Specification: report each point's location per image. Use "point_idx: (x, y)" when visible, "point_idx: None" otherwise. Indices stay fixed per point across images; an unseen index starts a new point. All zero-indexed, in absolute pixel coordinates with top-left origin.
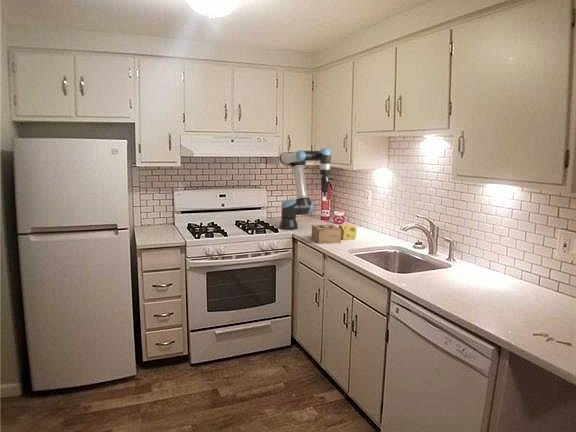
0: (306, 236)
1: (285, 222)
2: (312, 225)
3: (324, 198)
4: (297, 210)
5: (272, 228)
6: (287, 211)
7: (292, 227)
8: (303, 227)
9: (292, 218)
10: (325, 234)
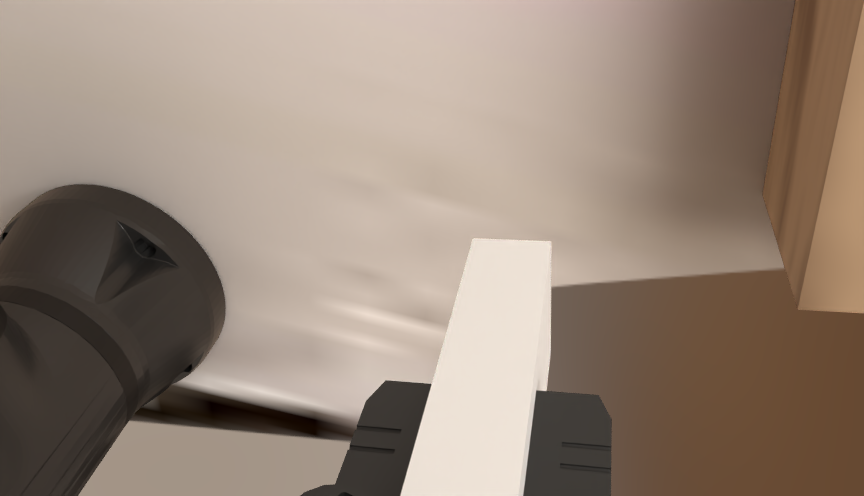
0: (630, 221)
1: (164, 386)
2: (834, 308)
3: (542, 359)
4: (4, 366)
5: (165, 421)
6: (82, 481)
7: (203, 284)
8: (35, 98)
9: (118, 350)
10: None
